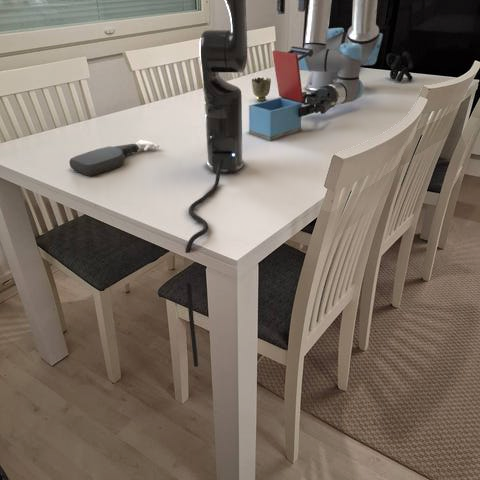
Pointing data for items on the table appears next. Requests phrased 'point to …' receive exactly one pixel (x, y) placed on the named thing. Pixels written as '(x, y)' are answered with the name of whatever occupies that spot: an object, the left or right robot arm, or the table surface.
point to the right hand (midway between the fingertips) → (285, 108)
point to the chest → (274, 118)
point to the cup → (261, 88)
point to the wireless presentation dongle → (106, 157)
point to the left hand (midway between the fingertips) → (291, 12)
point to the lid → (290, 72)
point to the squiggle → (399, 66)
